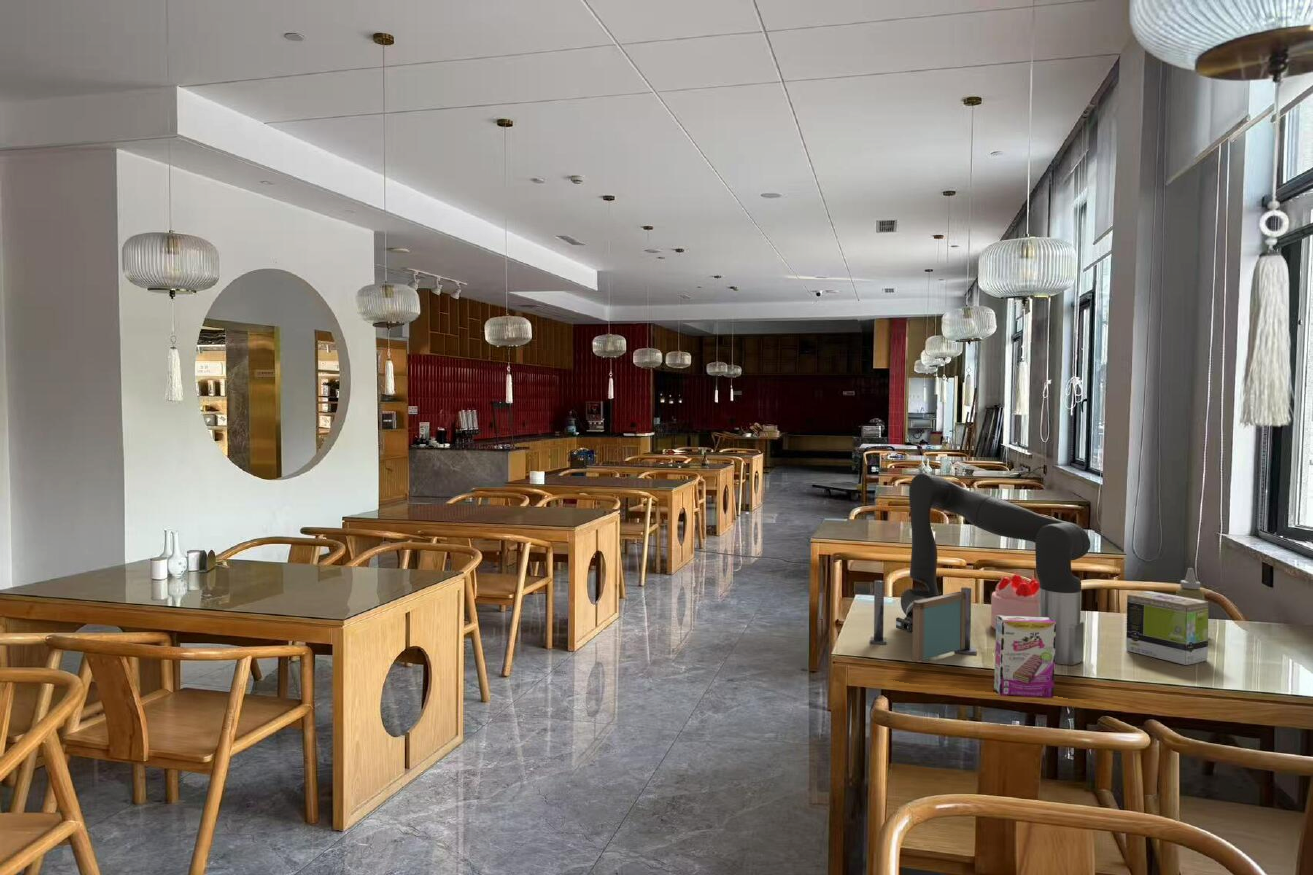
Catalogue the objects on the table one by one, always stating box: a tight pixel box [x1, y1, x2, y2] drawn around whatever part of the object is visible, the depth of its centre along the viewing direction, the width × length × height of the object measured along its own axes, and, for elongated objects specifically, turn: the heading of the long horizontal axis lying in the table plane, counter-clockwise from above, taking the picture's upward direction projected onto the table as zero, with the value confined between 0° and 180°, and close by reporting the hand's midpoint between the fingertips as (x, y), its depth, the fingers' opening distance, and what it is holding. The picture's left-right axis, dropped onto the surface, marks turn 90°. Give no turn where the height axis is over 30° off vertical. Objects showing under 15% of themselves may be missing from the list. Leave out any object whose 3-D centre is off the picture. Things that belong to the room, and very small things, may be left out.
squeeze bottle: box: [1175, 567, 1206, 601], centre depth 234 cm, size 8×8×18 cm
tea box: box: [1125, 590, 1209, 666], centre depth 213 cm, size 15×10×15 cm, turn 30°
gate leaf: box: [911, 591, 966, 663], centre depth 209 cm, size 19×2×14 cm, turn 128°
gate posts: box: [869, 579, 978, 656], centre depth 220 cm, size 26×7×16 cm, turn 74°
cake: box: [990, 574, 1039, 630], centre depth 238 cm, size 20×20×14 cm
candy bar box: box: [993, 615, 1056, 699], centre depth 183 cm, size 11×5×16 cm, turn 84°
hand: (921, 633), depth 207 cm, fingers closed
